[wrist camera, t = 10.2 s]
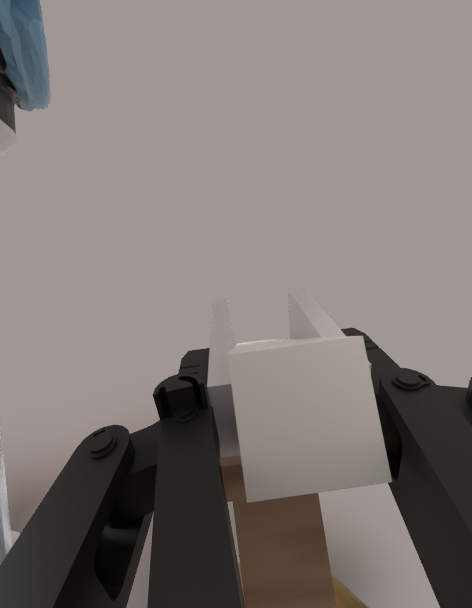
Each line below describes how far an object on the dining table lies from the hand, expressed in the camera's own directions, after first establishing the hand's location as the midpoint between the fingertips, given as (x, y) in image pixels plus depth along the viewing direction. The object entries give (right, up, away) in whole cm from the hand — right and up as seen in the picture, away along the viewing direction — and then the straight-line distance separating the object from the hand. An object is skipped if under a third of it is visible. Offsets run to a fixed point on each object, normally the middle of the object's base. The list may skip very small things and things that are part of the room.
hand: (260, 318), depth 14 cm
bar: (+1, -5, +4) cm, 6 cm away
